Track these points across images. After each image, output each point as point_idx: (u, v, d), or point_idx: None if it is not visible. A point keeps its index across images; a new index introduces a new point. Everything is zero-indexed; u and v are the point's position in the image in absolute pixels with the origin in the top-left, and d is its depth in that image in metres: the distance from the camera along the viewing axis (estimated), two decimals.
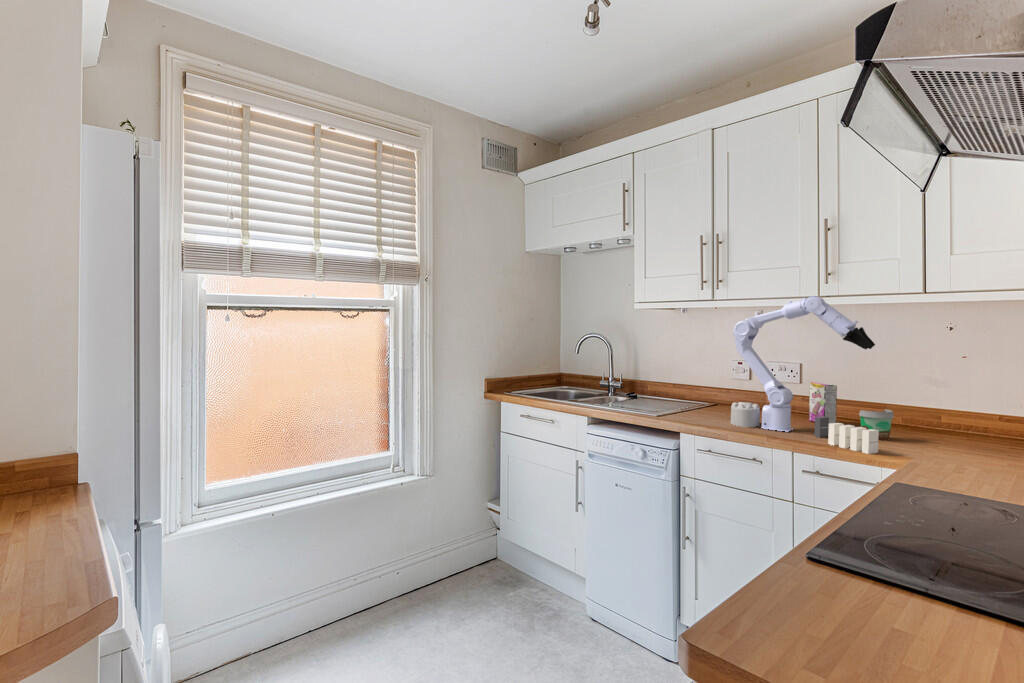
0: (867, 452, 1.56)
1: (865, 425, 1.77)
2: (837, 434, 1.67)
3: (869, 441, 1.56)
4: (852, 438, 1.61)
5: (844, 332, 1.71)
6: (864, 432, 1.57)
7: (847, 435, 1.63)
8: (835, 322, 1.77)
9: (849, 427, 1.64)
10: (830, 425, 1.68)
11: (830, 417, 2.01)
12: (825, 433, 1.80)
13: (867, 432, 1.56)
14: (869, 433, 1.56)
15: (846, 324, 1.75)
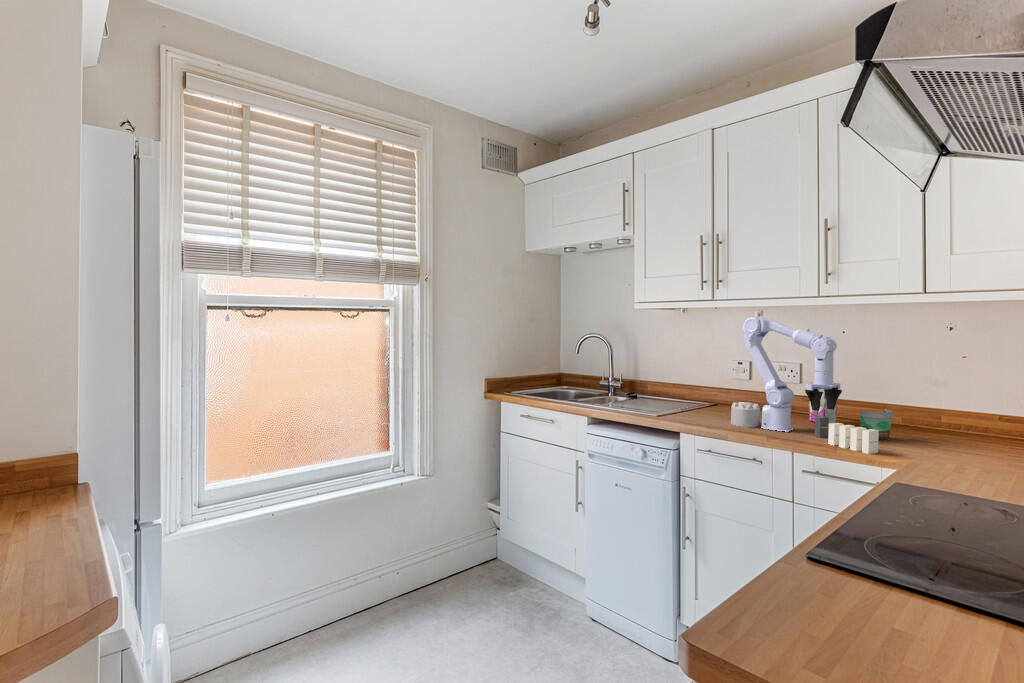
0: (867, 452, 1.56)
1: (865, 425, 1.77)
2: (837, 434, 1.67)
3: (869, 441, 1.56)
4: (852, 438, 1.61)
5: (807, 388, 1.78)
6: (864, 432, 1.57)
7: (847, 435, 1.63)
8: (817, 373, 1.79)
9: (849, 427, 1.64)
10: (830, 425, 1.68)
11: (830, 417, 2.01)
12: (825, 433, 1.80)
13: (867, 432, 1.56)
14: (869, 433, 1.56)
15: (822, 382, 1.78)
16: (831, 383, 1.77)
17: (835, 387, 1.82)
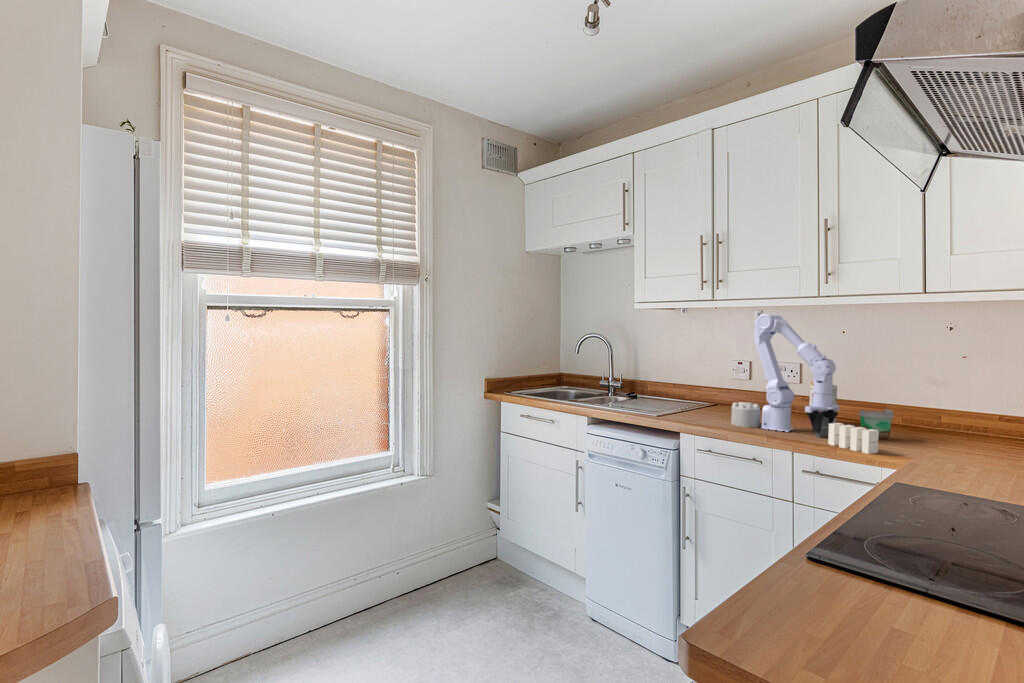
0: (867, 452, 1.56)
1: (865, 425, 1.77)
2: (837, 434, 1.67)
3: (869, 441, 1.56)
4: (852, 438, 1.61)
5: (806, 410, 1.78)
6: (864, 432, 1.57)
7: (847, 435, 1.63)
8: (816, 395, 1.79)
9: (849, 427, 1.64)
10: (830, 425, 1.68)
11: None
12: (825, 433, 1.80)
13: (867, 432, 1.56)
14: (869, 433, 1.56)
15: (820, 404, 1.78)
16: (830, 405, 1.78)
17: (834, 409, 1.82)
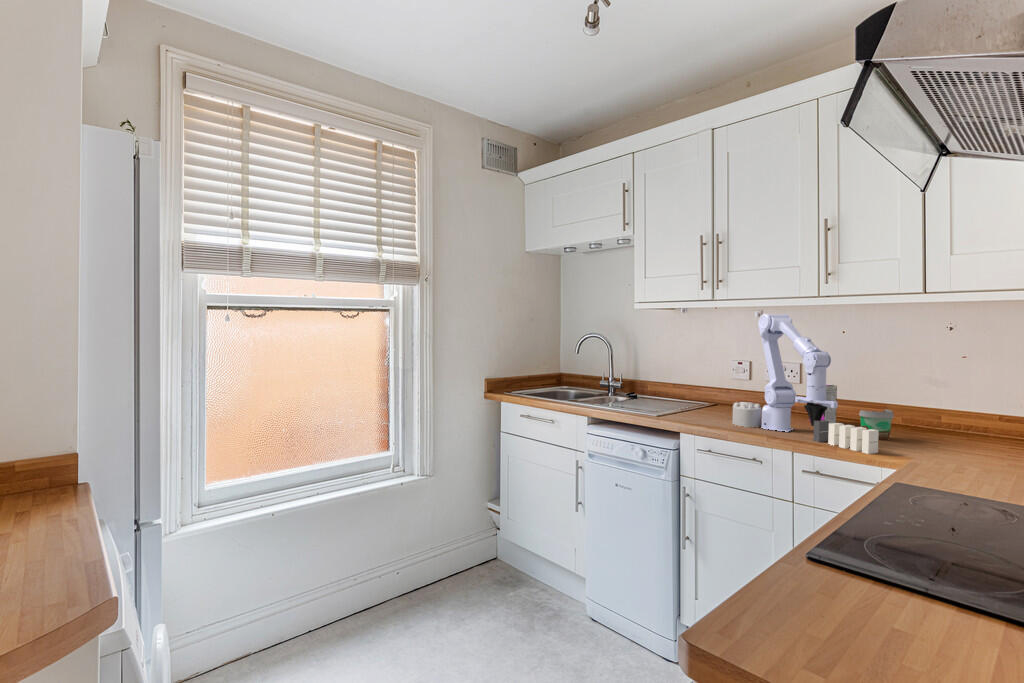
0: (867, 452, 1.56)
1: (865, 425, 1.77)
2: (837, 434, 1.67)
3: (869, 441, 1.56)
4: (852, 438, 1.61)
5: None
6: (864, 432, 1.57)
7: (847, 435, 1.63)
8: None
9: (849, 427, 1.64)
10: (830, 425, 1.68)
11: (830, 417, 2.01)
12: (824, 438, 1.72)
13: (867, 432, 1.56)
14: (869, 433, 1.56)
15: None
16: (810, 398, 1.74)
17: (830, 405, 1.70)
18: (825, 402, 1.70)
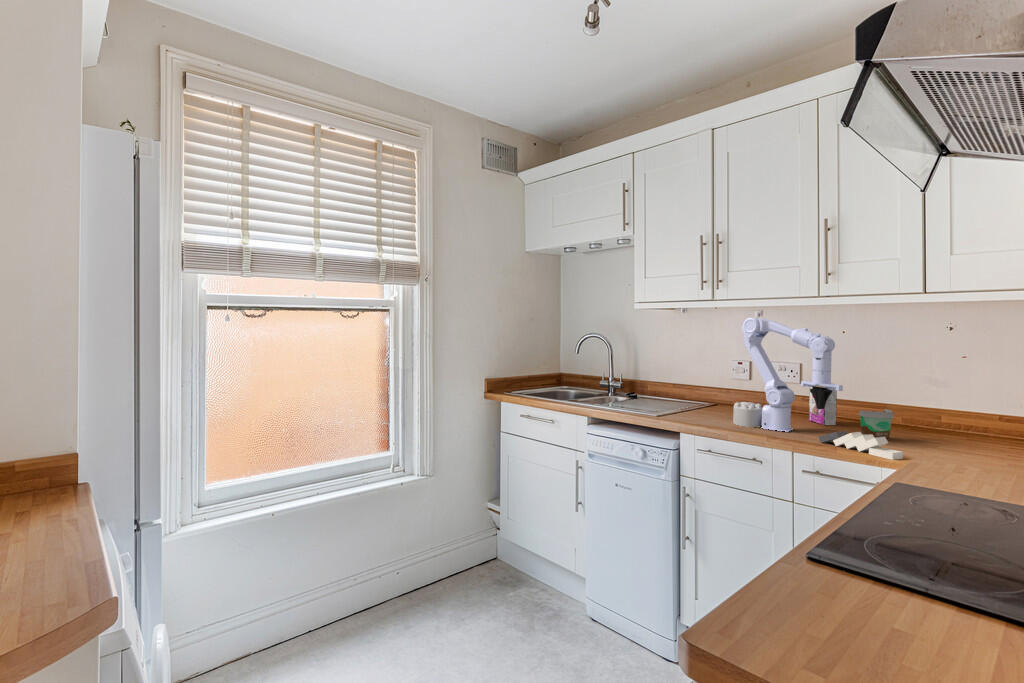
0: (870, 453, 1.56)
1: (865, 425, 1.77)
2: None
3: None
4: (866, 443, 1.56)
5: None
6: (890, 454, 1.50)
7: None
8: None
9: None
10: (850, 435, 1.61)
11: (830, 417, 2.01)
12: (829, 441, 1.71)
13: (891, 458, 1.50)
14: (891, 459, 1.50)
15: (812, 380, 1.82)
16: (816, 382, 1.79)
17: (835, 389, 1.75)
18: (830, 385, 1.75)
